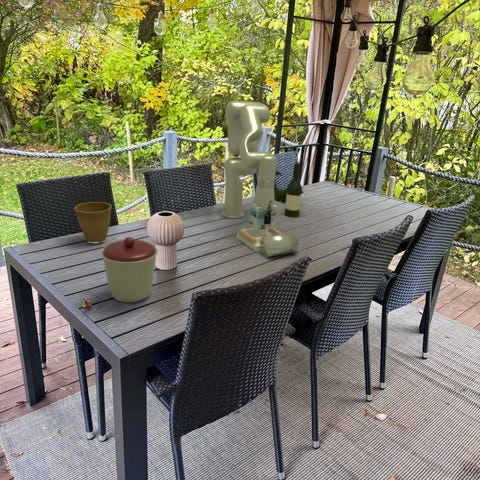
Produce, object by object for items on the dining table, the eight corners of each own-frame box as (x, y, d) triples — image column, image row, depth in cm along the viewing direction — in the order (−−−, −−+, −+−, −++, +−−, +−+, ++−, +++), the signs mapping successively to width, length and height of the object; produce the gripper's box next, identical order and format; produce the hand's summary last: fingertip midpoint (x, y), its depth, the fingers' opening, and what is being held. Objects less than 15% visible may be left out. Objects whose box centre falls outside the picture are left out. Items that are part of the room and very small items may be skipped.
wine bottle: (282, 216, 235) (287, 162, 224) (286, 212, 243) (292, 160, 232) (296, 218, 233) (303, 164, 222) (300, 214, 240) (306, 162, 229)
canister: (92, 301, 139) (87, 241, 131) (124, 278, 155) (122, 224, 147) (139, 314, 133) (137, 253, 125) (167, 289, 149) (167, 234, 141)
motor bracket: (235, 237, 200) (237, 219, 197) (267, 233, 208) (268, 216, 205) (267, 260, 177) (269, 241, 174) (300, 254, 186) (303, 235, 182)
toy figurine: (265, 201, 267) (298, 207, 252) (265, 171, 261) (299, 175, 246) (273, 198, 274) (307, 204, 258) (274, 169, 268) (308, 173, 253)
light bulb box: (255, 231, 189) (257, 208, 185) (248, 226, 194) (250, 203, 190) (276, 228, 193) (278, 206, 190) (268, 223, 199) (270, 201, 195)
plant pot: (103, 232, 196) (101, 199, 190) (119, 242, 186) (117, 208, 180) (71, 239, 186) (68, 205, 180) (87, 250, 176) (84, 214, 170)
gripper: (248, 179, 192) (246, 216, 198) (269, 188, 178) (266, 228, 184) (262, 178, 195) (260, 215, 202) (284, 187, 181) (280, 226, 188)
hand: (262, 221), depth 193 cm, fingers closed on light bulb box, 6 cm apart
